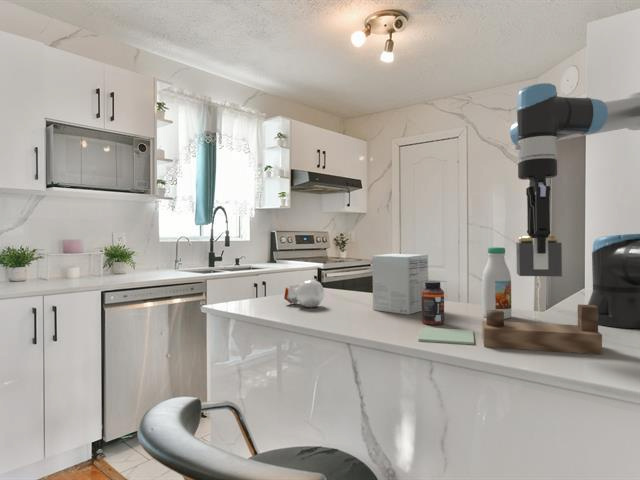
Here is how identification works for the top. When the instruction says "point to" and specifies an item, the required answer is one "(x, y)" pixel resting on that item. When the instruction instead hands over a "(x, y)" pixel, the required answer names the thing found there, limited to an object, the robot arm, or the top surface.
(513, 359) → the top surface
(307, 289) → the potion bottle
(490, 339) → the plane body
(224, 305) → the top surface
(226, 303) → the top surface
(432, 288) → the supplement bottle
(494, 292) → the milk bottle
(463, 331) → the mat
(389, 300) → the supplement box
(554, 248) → the lever cap
